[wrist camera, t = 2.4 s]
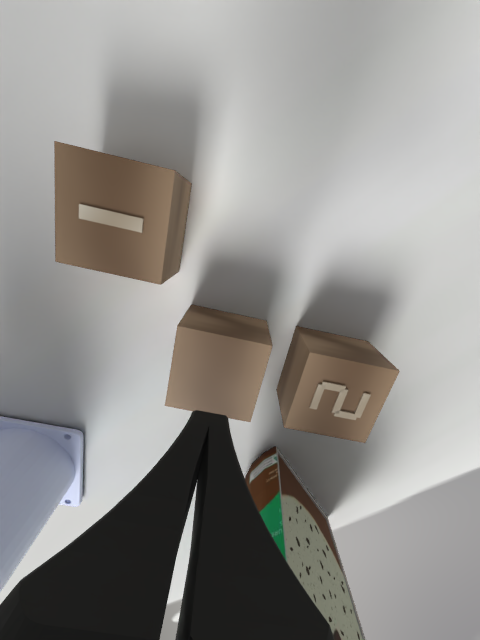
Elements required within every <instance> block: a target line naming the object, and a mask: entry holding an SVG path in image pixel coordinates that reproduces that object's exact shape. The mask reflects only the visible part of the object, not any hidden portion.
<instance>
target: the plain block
mask: <svg viewBox="0 0 480 640" xmlns="http://www.w3.org/2000/svg"><path fill="white" fill-rule="evenodd" d="M271 349H272V342H271V337H270V333H269V329H268V325H267V321H265V320H261V319H256V318H251V317H247V316H242V315H238V314H233V313H228V312H224V311H219V310H214V309H210V308H205V307H201V306H196V305H191V306H190V307H189V309H188V310H187V312H186V313H185V315H184V316H183V318H182V320H181V321H180V323H179V324H178V326H177V332H176V338H175V344H174V351H173V357H172V364H171V370H170V376H169V383H168V389H167V396H166V402H165V406H169V407H174V408H179V409H184V410H190V411H195V410H199V411H204V412H210V413H215V414H221V415H226V416H227V417H228V418H231V419H236V420H242V421H247V422H250V421H251V418H252V415H253V411H254V408H255V404H256V401H257V397H258V394H259V391H260V387H261V384H262V380H263V377H264V373H265V370H266V367H267V363H268V360H269V356H270V353H271Z"/></svg>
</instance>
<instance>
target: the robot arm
mask: <svg viewBox="0 0 480 640" xmlns="http://www.w3.org/2000/svg"><path fill="white" fill-rule="evenodd" d="M197 479H198V480H197ZM196 483H197V490H196V500H195V511H194V521H193V531H192V541H191V550H190V558H189V564H188V570H187V576H186V582H185V588H184V594H183V599H182V605H181V611H180V617H179V623H178V629H177V634H176V640H335V639H334V636H333V633H332V630H331V627H330V625H329V623H328V622H327V620H326V619H325V618H324V616H323V615H322V614H321V612H320V611H319V609H318V608H317V607H316V605H315V604H314V602H313V601H312V599H311V598H310V597H309V595H308V594H307V592H306V591H305V589H304V588H303V586H302V585H301V583H300V582H299V580H298V579H297V577H296V575H295V574H294V572H293V571H292V569H291V568H290V566H289V565H288V563H287V561H286V560H285V558H284V556H283V555H282V553H281V551H280V549H279V548H278V546H277V544H276V542H275V541H274V539H273V537H272V535H271V534H270V532H269V530H268V528H267V527H266V525H265V523H264V521H263V519H262V517H261V515H260V513H259V511H258V509H257V506H256V504H255V502H254V500H253V498H252V496H251V493H250V491H249V489H248V486H247V484H246V481H245V478H244V476H243V473H242V471H241V468H240V465H239V462H238V459H237V455H236V452H235V449H234V446H233V442H232V438H231V433H230V429H229V422H228V417H227V416H226V415H221V414H215V413H210V412H204V411H199V410H195V411H193V412H192V414H191V417H190V418H189V420H188V422H187V424H186V425H185V427H184V429H183V430H182V432H181V433H180V435H179V436H178V437H177V439H176V440H175V441H174V443H173V444H172V445H171V447H170V448H169V449H168V451H167V452H166V453H165V454H164V456H163V457H162V458H161V459H160V460H159V461H158V463H157V464H156V465H155V466H154V467H153V469H152V470H151V471H150V472H149V473H148V474H147V475H146V476H145V477H144V478H143V479H142V480H141V481H140V482H139V483H138V484H137V486H136V487H135V488H134V489H133V490H132V491H130V492H129V493H128V494H127V495H126V496H125V497H124V498H123V499H122V500H121V501H120V502H119V503H118V504H117V505H116V506H115V507H113V508H112V509H111V510H110V511H109V512H108V513H107V514H106V515H104V516H103V517H102V518H101V519H100V520H98V521H97V522H96V523H95V524H94V525H92V526H91V527H90V528H89V529H88V530H86V531H85V532H84V533H83V534H81V535H80V536H79V537H78V538H77V539H75V540H74V541H73V542H72V543H70V544H69V545H68V546H66V547H65V548H64V549H62V550H61V551H60V552H58V553H57V554H56V555H54V556H53V557H52V558H50V559H49V560H47V561H46V562H45V563H43V564H42V565H41V566H39V567H38V568H36V569H35V570H34V571H32V572H31V573H30V574H28V575H27V576H25V577H24V578H23V579H22V580H20V582H19V583H18V584H17V585H16V586H15V587H14V589H13V590H12V591H11V592H10V593H9V595H8V596H7V597H6V598H5V600H4V601H3V602H2V603H1V605H0V640H159V639H160V633H161V628H162V624H163V619H164V614H165V609H166V604H167V600H168V595H169V590H170V585H171V580H172V575H173V570H174V565H175V560H176V556H177V552H178V548H179V544H180V540H181V537H182V533H183V529H184V526H185V522H186V519H187V515H188V511H189V508H190V504H191V501H192V497H193V494H194V490H195V486H196ZM82 486H83V433H82V432H81V431H80V430H77V429H71V428H65V427H59V426H54V425H48V424H42V423H36V422H31V421H25V420H19V419H13V418H8V417H2V416H0V592H1V590H2V589H3V587H4V586H5V584H6V583H7V581H8V580H9V578H10V577H11V575H12V574H13V572H14V571H15V569H16V568H17V566H18V565H19V563H20V562H21V560H22V559H23V557H24V556H25V554H26V553H27V551H28V550H29V548H30V547H31V545H32V544H33V542H34V541H35V539H36V538H37V536H38V535H39V533H40V532H41V530H42V529H43V527H44V525H45V524H46V522H47V521H48V519H49V518H50V516H51V515H52V513H53V512H54V510H55V509H56V507H57V506H58V504H61V505H67V506H73V507H76V506H79V505H80V503H81V502H82Z"/></svg>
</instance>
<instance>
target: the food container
mask: <svg viewBox="0 0 480 640" xmlns="http://www.w3.org/2000/svg"><path fill="white" fill-rule="evenodd" d="M245 481H246V484H247V486H248V489H249V491H250V493H251V496H252V498H253V500H254V502H255V504H256V506H257V509H258V511H259V513H260V515H261V517H262V519H263V521H264V523H265V525H266V527H267V528H268V530H269V532H270V534H271V535H272V537H273V539H274V541H275V542H276V544H277V546H278V548H279V549H280V551H281V553H282V555H283V556H284V558H285V560H286V561H287V563H288V565H289V566H290V568H291V569H292V571H293V572H294V574H295V575H296V577H297V579H298V580H299V582H300V583H301V585H302V586H303V588H304V589H305V591H306V592H307V594H308V595H309V597H310V598H311V599H312V601H313V602H314V604H315V605H316V607H317V608H318V609H319V611H320V612H321V614H322V615H323V616H324V618H325V619H326V620H327V622H328V623H329V625H330V627H331V630H332V633H333V636H334V639H335V640H365V637H364V633H363V630H362V627H361V624H360V621H359V617H358V614H357V611H356V608H355V604H354V601H353V598H352V595H351V591H350V588H349V585H348V582H347V579H346V575H345V572H344V569H343V566H342V563H341V559H340V556H339V553H338V550H337V547H336V543H335V540H334V537H333V534H332V530H331V527H330V524H329V521H328V517H327V516H326V515H325V513H324V512H323V511H322V509H321V508H320V506H319V505H318V504H317V502H316V501H315V499H314V498H313V497H312V495H311V494H310V493H309V491H308V490H307V488H306V487H305V486H304V484H303V483H302V481H301V480H300V479H299V477H298V476H297V474H296V473H295V472H294V470H293V469H292V468H291V466H290V465H289V463H288V462H287V461H286V459H285V458H284V456H283V455H282V454H281V452H280V451H279V449H278V448H277V447H276V446H275V447H273V448H271V449H270V450H268V451H266V452H264V453H263V454H262V455H261V456H260V457H259V458H258V459H257V460H256V461H255V462H254V463H253V464H252V465H251V467H250V469H249V471H248V473H247V475H246V477H245Z"/></svg>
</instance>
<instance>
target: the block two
mask: <svg viewBox="0 0 480 640" xmlns="http://www.w3.org/2000/svg"><path fill="white" fill-rule="evenodd" d="M398 373H399V370H398V369H397V368H396V367H395V366H394V365H393V364H392V363H390V362H389V361H388V360H387V359H386V358H385V357H384V356H383V355H382V354H381V353H380V352H379V351H378V350H377V349H376V348H375V347H373V346H372V345H371V344H370V343H369V342H368V341H364V340H359V339H354V338H350V337H345V336H340V335H336V334H331V333H326V332H322V331H317V330H312V329H308V328H303V327H299V326H296V328H295V332H294V335H293V338H292V341H291V344H290V348H289V351H288V354H287V357H286V360H285V364H284V367H283V370H282V373H281V376H280V380H279V383H278V386H277V389H276V390H277V395H278V400H279V405H280V410H281V415H282V420H283V425H284V428H289V429H295V430H300V431H305V432H310V433H316V434H321V435H326V436H331V437H337V438H342V439H347V440H352V441H358V442H363V443H365V442H366V440H367V438H368V436H369V434H370V432H371V430H372V427H373V425H374V423H375V421H376V419H377V417H378V415H379V413H380V411H381V409H382V407H383V405H384V402H385V400H386V398H387V396H388V394H389V392H390V390H391V388H392V386H393V384H394V382H395V380H396V378H397V375H398Z"/></svg>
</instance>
